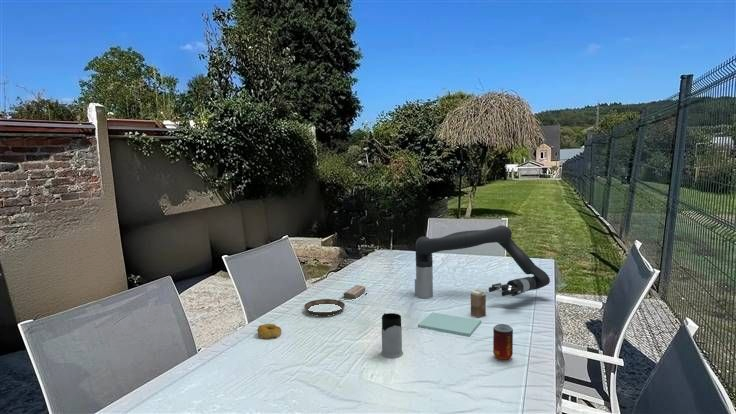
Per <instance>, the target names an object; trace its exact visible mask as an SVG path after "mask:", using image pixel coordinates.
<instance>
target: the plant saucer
mask: <svg viewBox="0 0 736 414" xmlns="http://www.w3.org/2000/svg"><path fill="white" fill-rule="evenodd" d="M319 304H335V305H338V306H340V307H341V308H342V309H340V310H337V311H332V312H313V311H309V310H308V309H309V308H310V307H311V306H314V305H319ZM345 307H346V304H345V303H344V301H341V300H340V299H339V300H337V299H334V298H333V299H332V298H324V299H323V298H321V299H320V298H319V299H314V300H311V301H310V300H309V301H308V302H306V303H305V304H304V309H305V310H306V312H307V313H309V314H310V315H312V314H313V315H312V316H314V315H318V316H317V317H329V316H328V315H332V316H334V315H333V314H336V315H337V313H338V314H340V313H341V312H342V311H343V310H344V308H345ZM339 312H340V313H339Z"/></svg>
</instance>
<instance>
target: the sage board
mask: <svg viewBox="0 0 736 414" xmlns="http://www.w3.org/2000/svg"><path fill="white" fill-rule="evenodd" d="M481 324H482V319H478V318H477V319H476V318H471V317H470V318H469V317H463V316H457V315H450V314H445V313H439V312H433V311H432V312H431V313H430V314H429V315H427V316H426V317H425V318H423V320H421V321H420V322H419V323H418V324H417V328H420V327H422V328H421V329H426V328H427V329H428V330H431V329H433V331H437V332H443V333H448V334H453V335H460V336H466V337H471V336H472V334H473V333H474V332H475V331H476V330H477V329H478V328H479V326H480V325H481Z"/></svg>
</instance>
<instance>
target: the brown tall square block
mask: <svg viewBox="0 0 736 414" xmlns="http://www.w3.org/2000/svg"><path fill="white" fill-rule="evenodd" d="M486 300H487V291H485V290H482V289H479V288H477V289H474V290H470V315H471V316H473V317H475V318H477V319H480V318H482V317H483V318H484V317H486V316H487V315H486V314H487V309H486V308H487V305H486V304H487V301H486Z"/></svg>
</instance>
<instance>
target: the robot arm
mask: <svg viewBox="0 0 736 414" xmlns="http://www.w3.org/2000/svg"><path fill="white" fill-rule="evenodd" d="M491 243H492V244H493V243H497V244H499V245H500V246H501V247H502V248H503V249H504V250H505V251H506V252H507V253H508V255H509V256H510V257H511V258H512V259H513V261H514V262H515V263H516V264H517V266H518V267H519V269H521V271H522V272H523V273H524V274H525V275H532V276H524V277H519V278H515V279H511V280H509V281H507V283H504V284H502V283H501V282H498V283H495V284H494V283H493V284H491V286H490V287H488V292H489V293H492V292H501V297H506V296H512V297H515V296H518V295H521V294H523V293H526V292H530V291H534V290H535V291H536V290H539V289H541V288H545V287H546V286H548V285H549V284H550V283H551V280H550V279H551V278H550V276H549V274H548V273H546V271H544V270H543V269H542V268H540V267H538V266H537V265H536V264H535V263H534V261H532V259H531V258H530V257H529V256H528V255H527V254H526V253H525V252H524V251H523V250H522V249H521V248H520V247H519V246H518V245H517V244H516V243H515V241H514V240H513V239H512V230H511V229H510V228H509V227H508V226H506V225H503V224H501V225H498V226H495V227H492V228H487V229H477V230H475V229H474V230H464V231H462V230H461V231H458V232H453V233H449V234H448V235H445V236H442V237H435V238H430V237H428V236H424V235H423V236H420V237H418V238H417V239H416V241H415V279H414V297H417V298H420V299H429V298H430V299H431V298H433V296H434V291H433V290H434V289H433V288H434V277H433V274H434V273H433V271H434V270H433V269H434V265H433V263H434V262H433V261H434V260H433V254H434V253H438V252H442V251H453V250H462V249H469V248H473V247H474V248H475V247H477V246H481V245H485V244H491Z"/></svg>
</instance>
